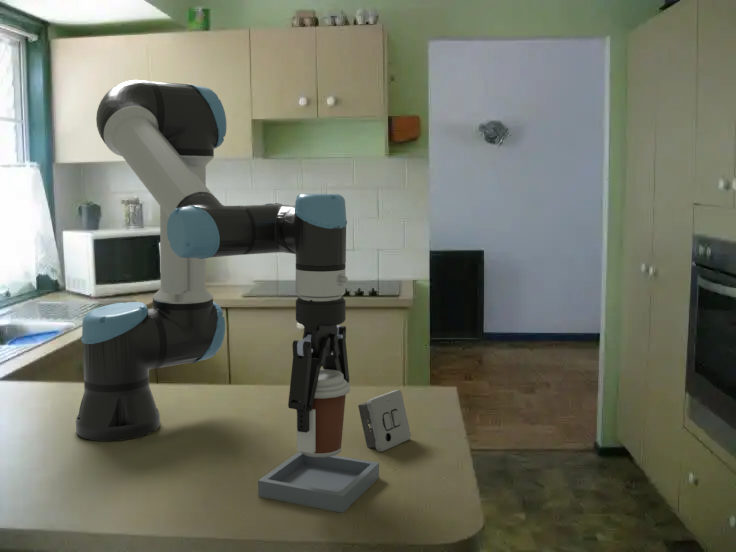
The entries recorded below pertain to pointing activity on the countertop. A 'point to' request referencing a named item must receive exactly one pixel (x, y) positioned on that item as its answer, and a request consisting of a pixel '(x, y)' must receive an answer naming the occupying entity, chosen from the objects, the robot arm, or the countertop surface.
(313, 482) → the dock tray
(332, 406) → the coffee cup
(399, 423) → the electrical switch
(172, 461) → the countertop surface
